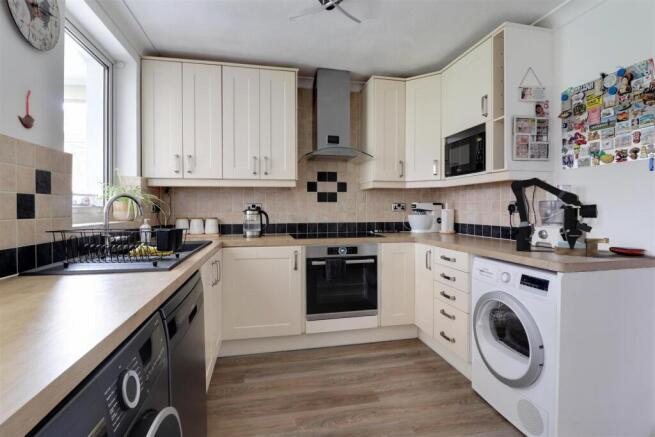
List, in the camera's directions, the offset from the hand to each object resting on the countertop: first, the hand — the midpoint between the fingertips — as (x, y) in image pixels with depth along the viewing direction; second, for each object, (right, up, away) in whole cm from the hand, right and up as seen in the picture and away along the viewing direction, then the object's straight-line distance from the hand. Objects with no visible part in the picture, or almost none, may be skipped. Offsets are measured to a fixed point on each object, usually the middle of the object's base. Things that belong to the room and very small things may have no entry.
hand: (569, 248), depth 159 cm
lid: (0, +1, 0) cm, 1 cm away
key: (+10, +3, -5) cm, 12 cm away
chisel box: (+2, -3, -1) cm, 4 cm away
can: (+15, -3, +15) cm, 21 cm away
